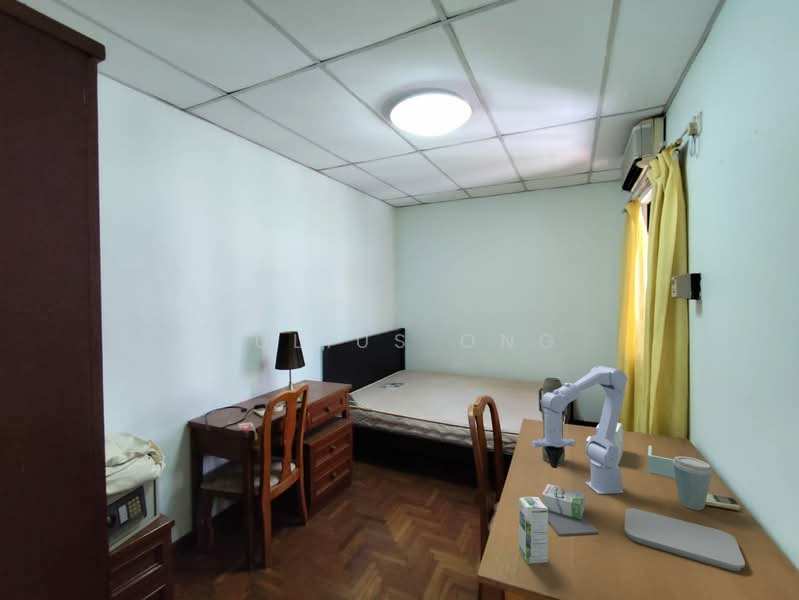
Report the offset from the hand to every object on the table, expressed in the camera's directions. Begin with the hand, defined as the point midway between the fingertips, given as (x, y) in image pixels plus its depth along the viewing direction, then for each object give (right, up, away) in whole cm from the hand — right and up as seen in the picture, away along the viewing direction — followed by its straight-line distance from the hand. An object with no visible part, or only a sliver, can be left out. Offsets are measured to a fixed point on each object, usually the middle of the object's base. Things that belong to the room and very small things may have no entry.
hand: (553, 467), depth 127 cm
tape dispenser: (+37, -11, +34) cm, 51 cm away
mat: (-2, -10, -14) cm, 18 cm away
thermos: (+12, -11, +29) cm, 33 cm away
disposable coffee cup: (+44, -10, -6) cm, 45 cm away
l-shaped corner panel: (+53, -11, +18) cm, 57 cm away
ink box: (+5, -7, -12) cm, 14 cm away
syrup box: (-18, -11, -29) cm, 36 cm away
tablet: (+26, -11, -23) cm, 36 cm away
